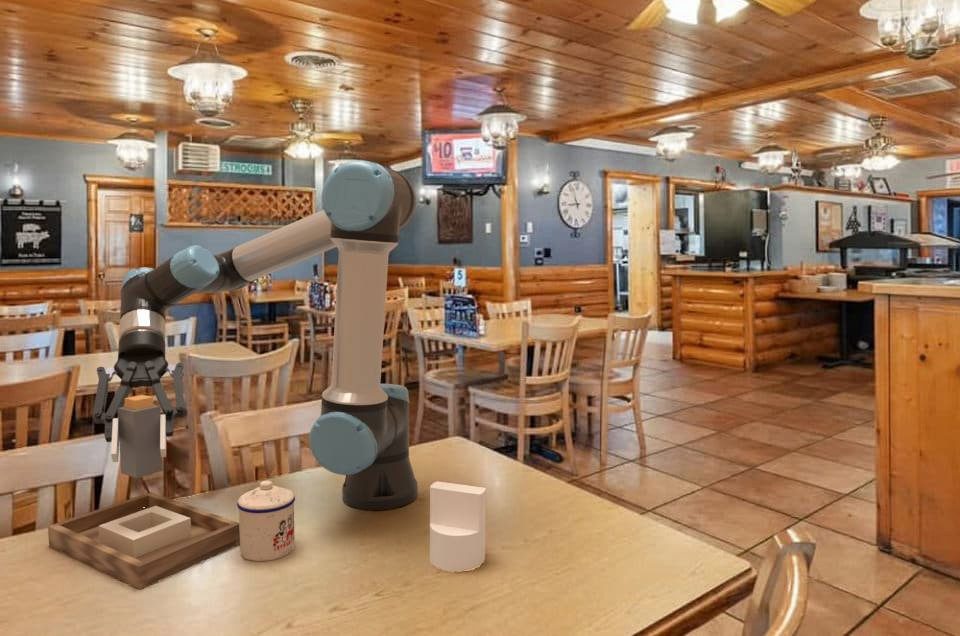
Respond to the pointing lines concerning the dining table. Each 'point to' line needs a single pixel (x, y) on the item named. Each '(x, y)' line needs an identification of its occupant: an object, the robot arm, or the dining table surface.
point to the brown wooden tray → (142, 571)
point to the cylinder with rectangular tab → (457, 526)
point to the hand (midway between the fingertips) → (139, 455)
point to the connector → (139, 437)
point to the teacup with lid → (266, 522)
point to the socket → (144, 531)
